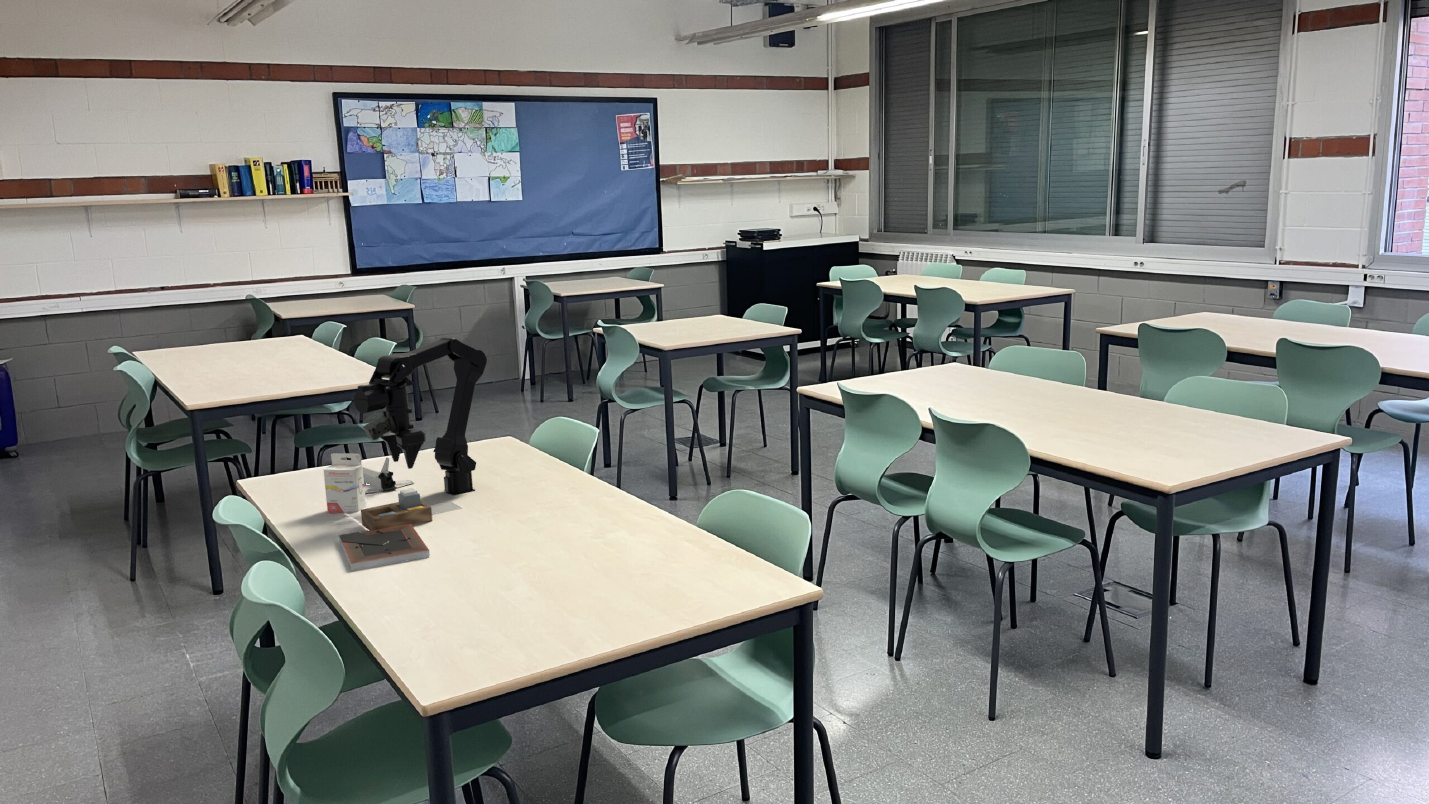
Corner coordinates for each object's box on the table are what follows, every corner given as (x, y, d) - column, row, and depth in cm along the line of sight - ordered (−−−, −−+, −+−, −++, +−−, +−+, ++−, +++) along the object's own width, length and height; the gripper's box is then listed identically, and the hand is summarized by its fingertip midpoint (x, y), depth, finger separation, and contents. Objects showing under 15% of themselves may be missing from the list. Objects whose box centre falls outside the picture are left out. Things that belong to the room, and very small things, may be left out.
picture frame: (340, 544, 239) (352, 573, 220) (338, 534, 238) (351, 562, 219) (412, 532, 246) (430, 559, 227) (411, 522, 245) (429, 549, 226)
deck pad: (450, 503, 267) (450, 501, 267) (462, 510, 260) (462, 508, 260) (420, 509, 262) (420, 507, 262) (432, 516, 256) (432, 514, 256)
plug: (416, 514, 255) (413, 487, 254) (421, 518, 252) (419, 490, 251) (400, 517, 253) (397, 490, 252) (406, 521, 250) (403, 494, 248)
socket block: (417, 513, 259) (416, 497, 258) (432, 522, 251) (431, 506, 250) (362, 525, 250) (360, 508, 250) (376, 535, 243) (374, 518, 242)
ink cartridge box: (326, 513, 261) (320, 457, 258) (335, 507, 266) (329, 453, 263) (358, 513, 260) (353, 457, 257) (367, 507, 265) (361, 452, 262)
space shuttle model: (385, 470, 303) (382, 438, 301) (419, 487, 284) (416, 453, 282) (332, 481, 293) (329, 447, 291) (364, 499, 274) (360, 463, 272)
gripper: (351, 405, 259) (358, 464, 263) (379, 416, 245) (386, 479, 248) (394, 398, 266) (400, 456, 269) (423, 408, 252) (429, 469, 255)
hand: (403, 465), depth 260 cm, fingers open, 9 cm apart
